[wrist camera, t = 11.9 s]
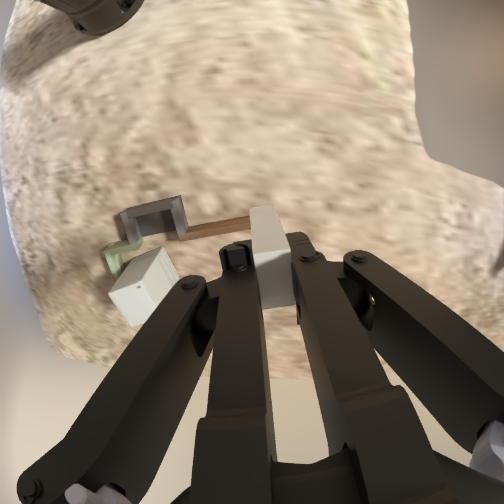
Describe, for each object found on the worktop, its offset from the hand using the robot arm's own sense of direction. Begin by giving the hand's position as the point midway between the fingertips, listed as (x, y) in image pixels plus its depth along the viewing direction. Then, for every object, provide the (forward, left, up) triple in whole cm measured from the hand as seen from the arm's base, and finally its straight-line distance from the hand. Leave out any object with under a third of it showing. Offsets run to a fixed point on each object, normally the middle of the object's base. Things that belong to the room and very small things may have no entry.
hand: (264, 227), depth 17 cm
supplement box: (+15, -21, -29) cm, 39 cm away
